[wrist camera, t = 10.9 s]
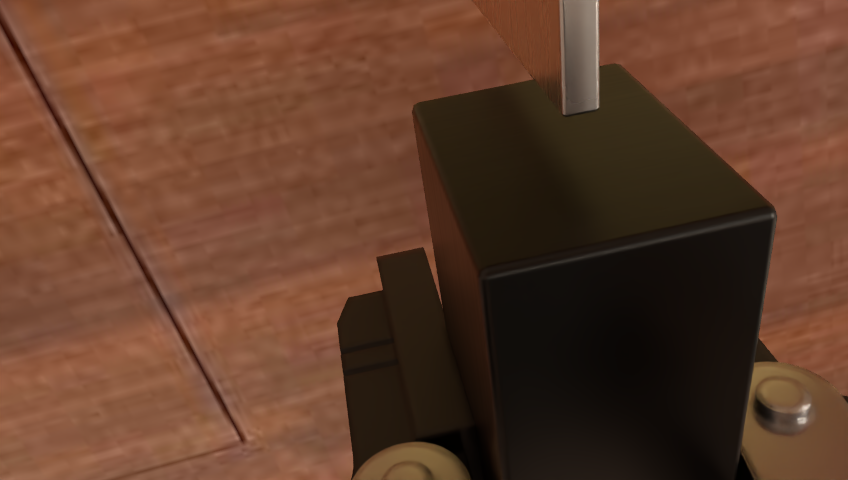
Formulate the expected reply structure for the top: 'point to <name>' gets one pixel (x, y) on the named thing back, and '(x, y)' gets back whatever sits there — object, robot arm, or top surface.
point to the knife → (591, 264)
